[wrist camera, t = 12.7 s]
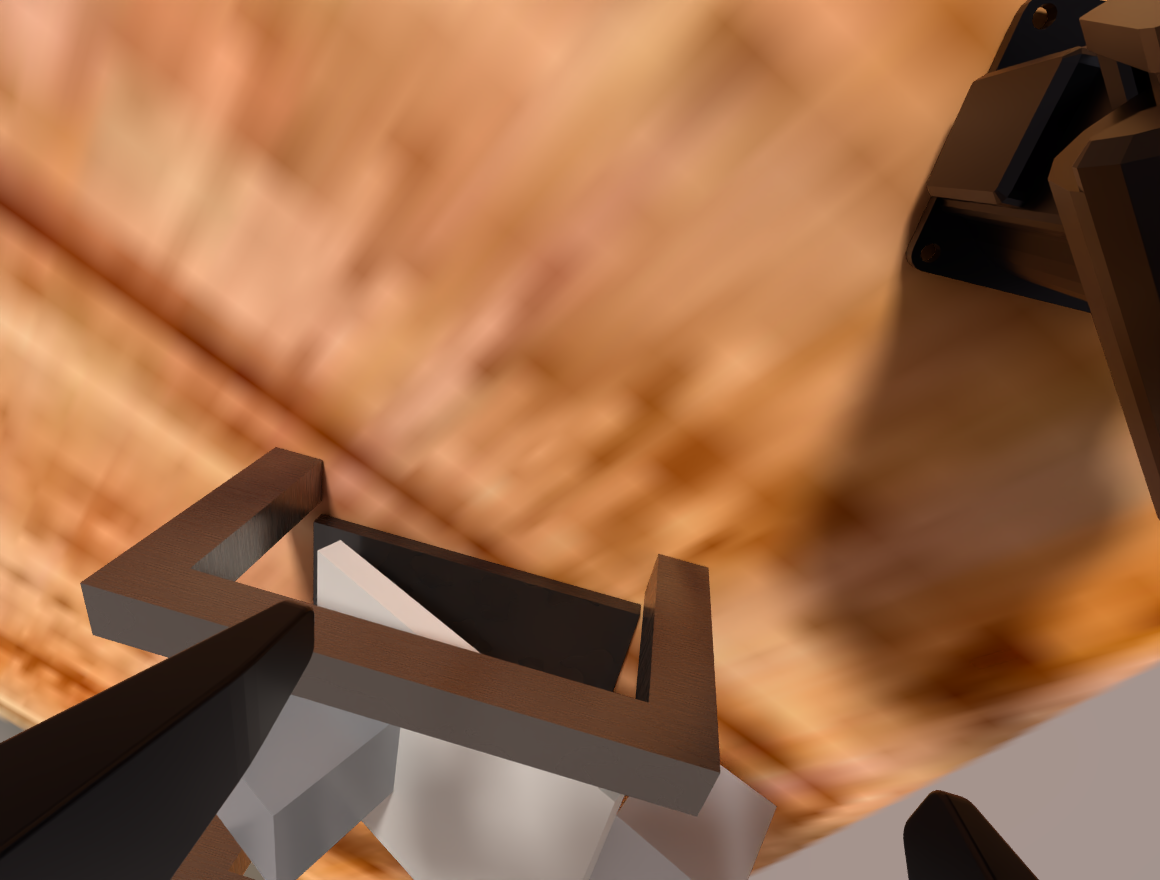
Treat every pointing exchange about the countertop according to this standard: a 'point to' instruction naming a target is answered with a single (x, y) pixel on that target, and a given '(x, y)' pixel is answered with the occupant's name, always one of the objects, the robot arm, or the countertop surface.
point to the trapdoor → (528, 791)
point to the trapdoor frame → (440, 646)
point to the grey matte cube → (309, 786)
